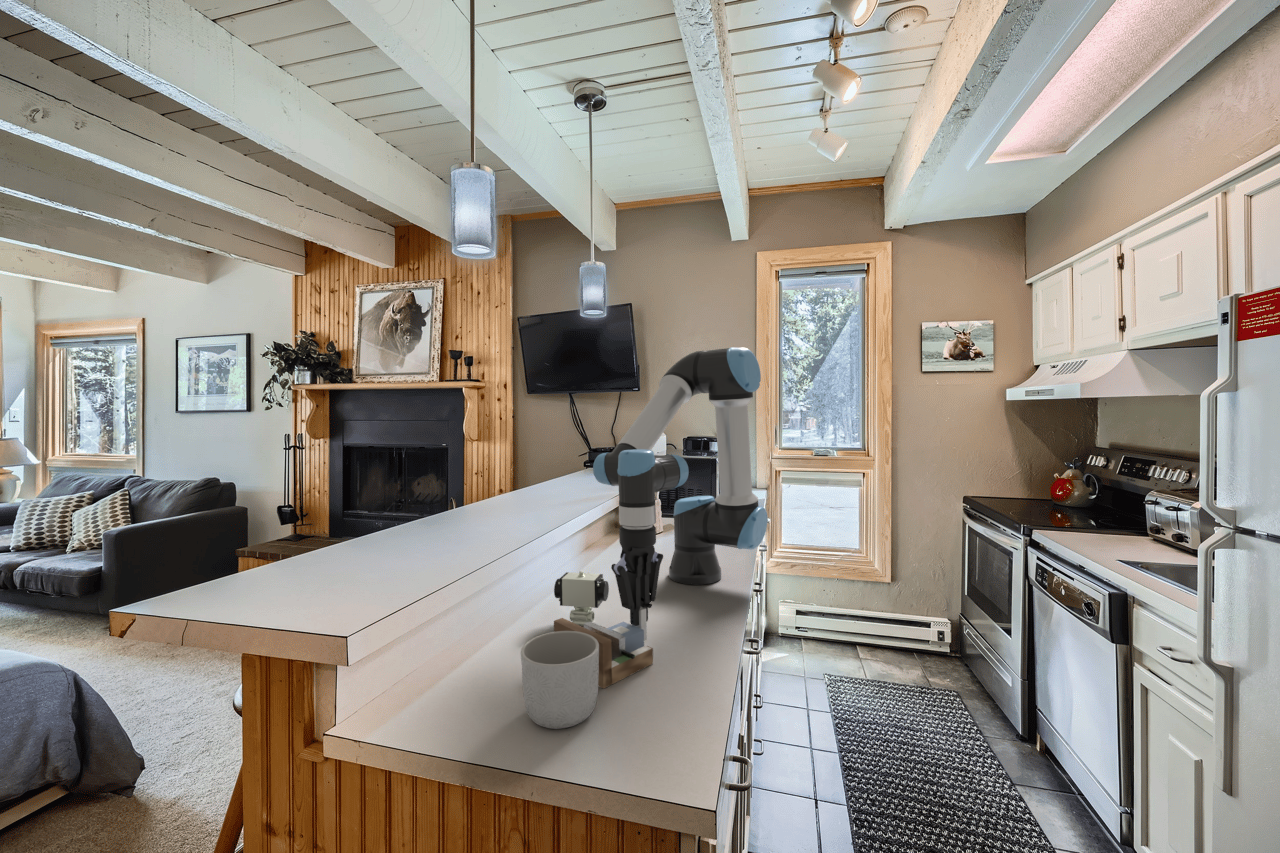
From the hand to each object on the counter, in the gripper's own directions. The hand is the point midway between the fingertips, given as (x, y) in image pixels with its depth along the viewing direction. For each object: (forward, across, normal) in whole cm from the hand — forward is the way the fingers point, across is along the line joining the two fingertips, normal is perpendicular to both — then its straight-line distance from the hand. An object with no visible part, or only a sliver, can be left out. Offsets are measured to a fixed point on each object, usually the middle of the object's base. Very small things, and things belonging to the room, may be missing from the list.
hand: (639, 638), depth 108 cm
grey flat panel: (+1, +10, +2) cm, 10 cm away
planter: (+2, +26, +8) cm, 27 cm away
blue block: (+2, +5, 0) cm, 6 cm away
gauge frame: (+1, +10, 0) cm, 10 cm away
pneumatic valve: (+2, +1, -18) cm, 18 cm away
